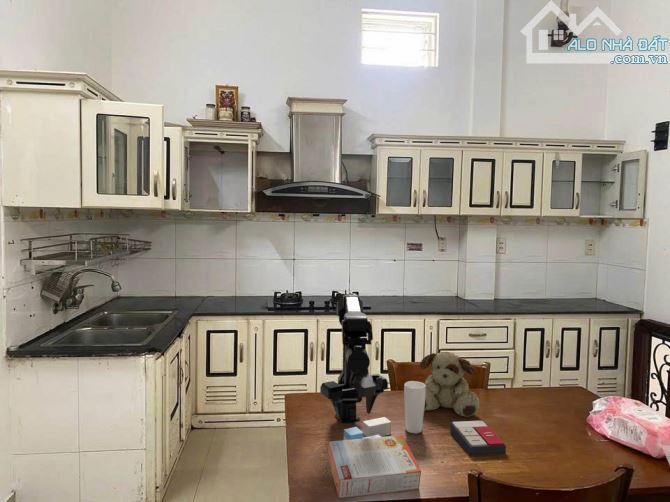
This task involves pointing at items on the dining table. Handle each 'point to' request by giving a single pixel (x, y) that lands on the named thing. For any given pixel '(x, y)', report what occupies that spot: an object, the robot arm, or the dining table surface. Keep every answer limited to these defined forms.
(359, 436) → the plug
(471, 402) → the dog
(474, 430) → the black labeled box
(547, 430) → the dining table surface
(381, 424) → the plug
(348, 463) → the cracker box
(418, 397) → the drinking glass
